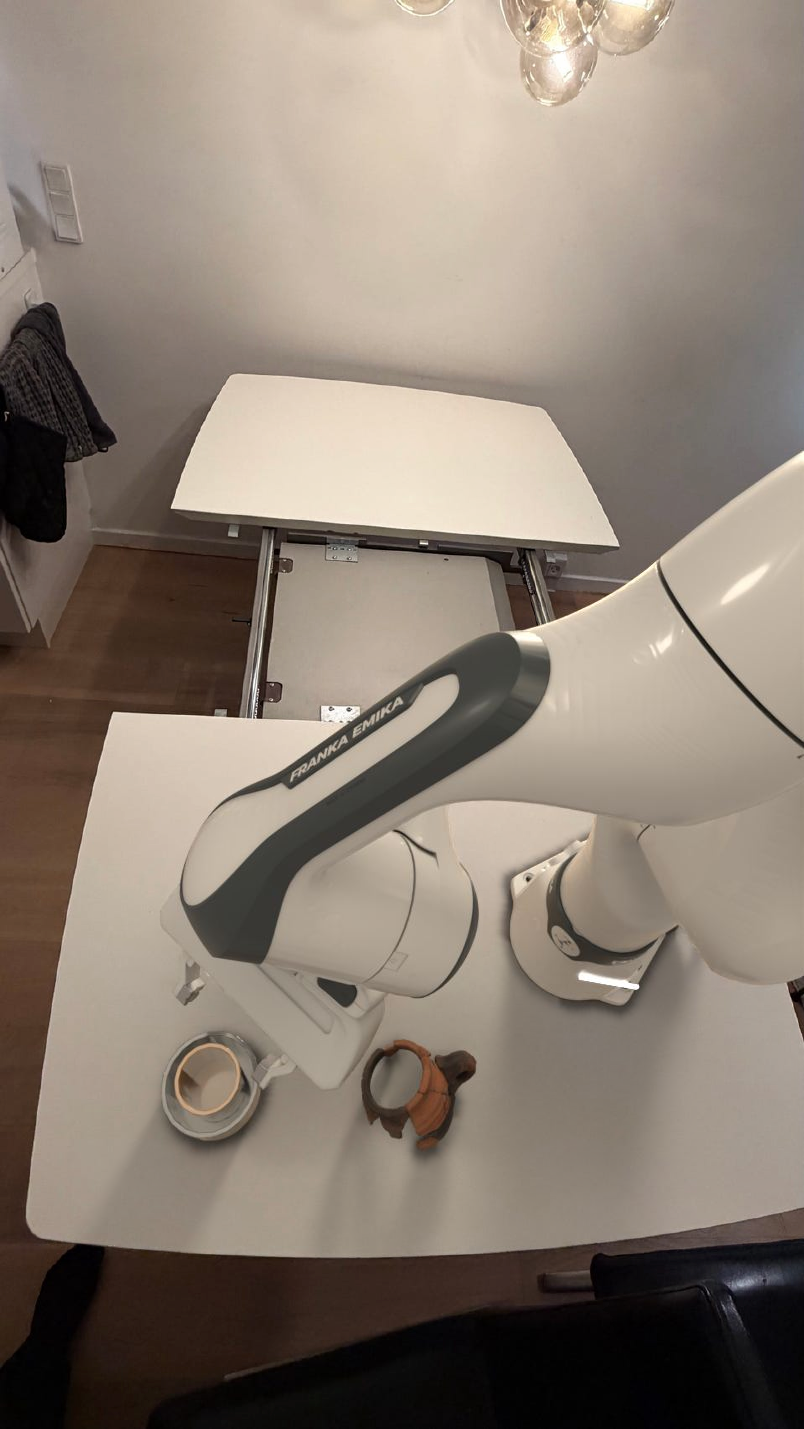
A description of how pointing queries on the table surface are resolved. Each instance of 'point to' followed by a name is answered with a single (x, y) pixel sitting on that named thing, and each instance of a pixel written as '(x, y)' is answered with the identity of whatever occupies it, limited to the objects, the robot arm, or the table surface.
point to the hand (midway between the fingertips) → (221, 1037)
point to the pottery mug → (421, 1092)
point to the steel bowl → (192, 1123)
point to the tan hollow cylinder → (210, 1082)
